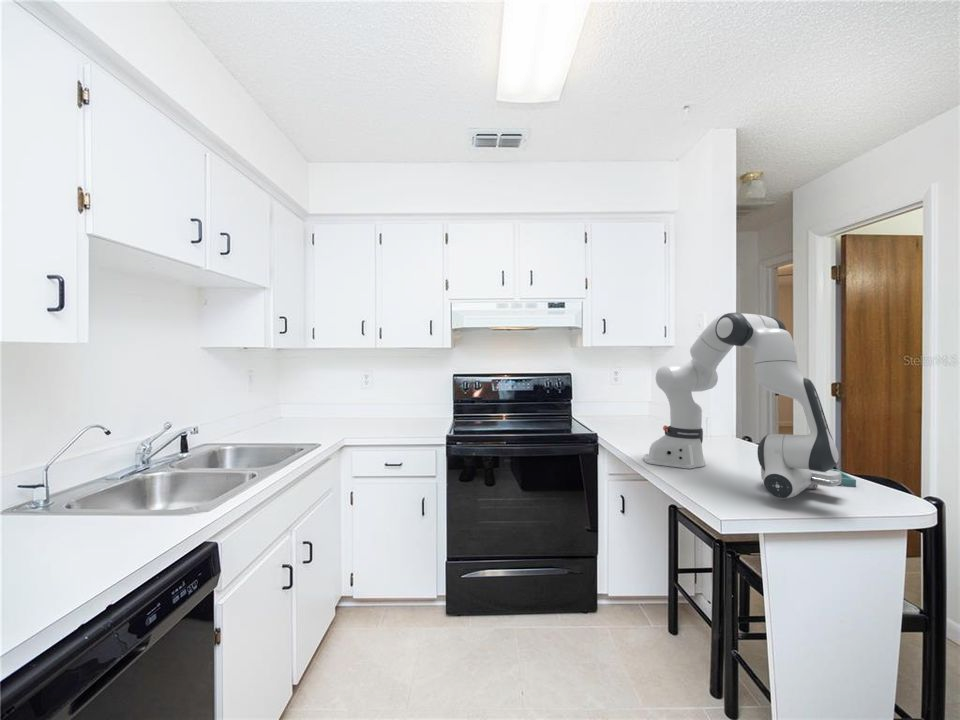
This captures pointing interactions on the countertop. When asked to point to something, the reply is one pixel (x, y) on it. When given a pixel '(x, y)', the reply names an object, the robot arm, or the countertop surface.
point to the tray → (846, 479)
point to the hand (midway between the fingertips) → (805, 468)
